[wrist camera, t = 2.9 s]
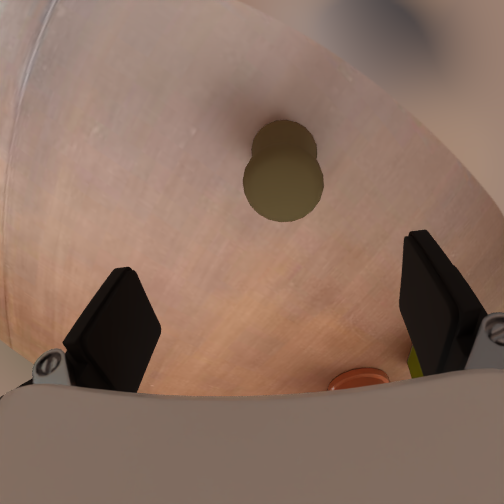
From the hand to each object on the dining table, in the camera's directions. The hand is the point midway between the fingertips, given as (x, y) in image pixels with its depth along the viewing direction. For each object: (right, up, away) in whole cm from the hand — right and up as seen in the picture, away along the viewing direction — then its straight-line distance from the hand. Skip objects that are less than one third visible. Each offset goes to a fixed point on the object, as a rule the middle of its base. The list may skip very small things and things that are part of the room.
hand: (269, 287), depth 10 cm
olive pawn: (+2, +10, +18) cm, 21 cm away
